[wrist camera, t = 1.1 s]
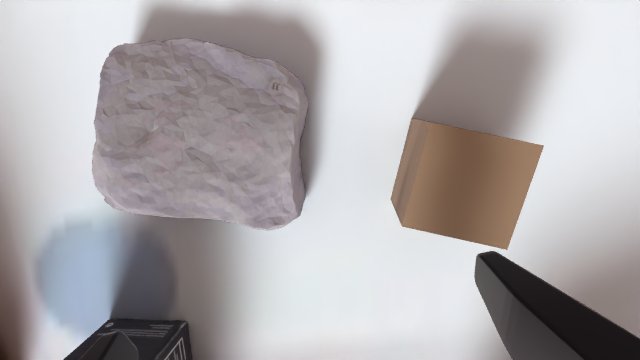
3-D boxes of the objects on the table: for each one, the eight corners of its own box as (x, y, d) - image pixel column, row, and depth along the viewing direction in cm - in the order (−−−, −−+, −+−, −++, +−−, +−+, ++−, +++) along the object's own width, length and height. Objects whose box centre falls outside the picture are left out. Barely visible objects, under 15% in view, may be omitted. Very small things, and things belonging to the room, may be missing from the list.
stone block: (140, 54, 23) (125, 204, 23) (89, 21, 18) (70, 212, 18) (319, 71, 22) (303, 224, 22) (316, 42, 17) (296, 237, 18)
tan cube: (496, 135, 20) (544, 145, 15) (470, 216, 21) (507, 249, 16) (411, 118, 20) (430, 122, 15) (390, 198, 21) (401, 226, 16)
